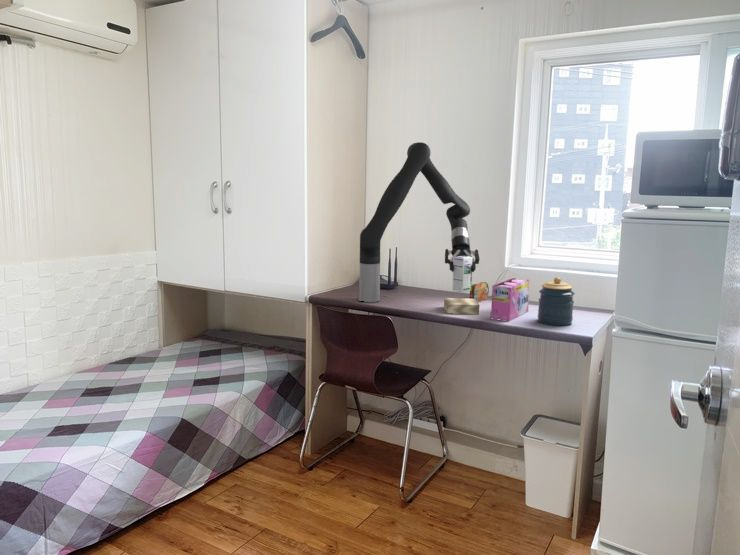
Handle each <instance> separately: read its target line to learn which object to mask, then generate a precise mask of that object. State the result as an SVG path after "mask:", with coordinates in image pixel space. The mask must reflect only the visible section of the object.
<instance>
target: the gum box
mask: <svg viewBox="0 0 740 555" xmlns="http://www.w3.org/2000/svg"><path fill="white" fill-rule="evenodd" d="M491 288H492V289H491V292H492V293H491V311H490V319H491V318H493V319H492V320H496V319H500V320H499V321H502V320H506V321H505V322H511V321H512V319H513V320H514V318H515V319H516V317H517V318H518V317H520V316H523V315H524V314H526V313H527V311H528V312H529V304H530V302H529V300H530V298H529V297H530V296H529V295H530V279H526V280H521V279H517V278H515V277H514V278H513V277H512V278H509V279H506V280H504V281H501V282H498V283H496V284H493V285H492V287H491ZM510 320H511V321H510Z"/></svg>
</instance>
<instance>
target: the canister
mask: <svg viewBox="0 0 740 555" xmlns="http://www.w3.org/2000/svg"><path fill="white" fill-rule="evenodd" d="M572 289H573V286H572V285H570V284H569V283H568V282H563V281H562V279H561V278H560V277H559V276H557V277H555V278H554V279H553V281H546V282H545V283H543V284H541V289H539V291H538V292H539V294H540V295H539V298H538V309H537V311H538V312H537V321H538V322H539V323H541V324H545V325H549V326H558V325H563V326H570V325H572V323H573V320H574V319H573V316H574V315H573V314H574V313H573V310H574V303H575V301H574V300H573V299H574V295H575V292H574V291H573V290H572ZM569 324H570V325H569Z"/></svg>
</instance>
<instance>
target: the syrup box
mask: <svg viewBox="0 0 740 555" xmlns="http://www.w3.org/2000/svg"><path fill="white" fill-rule="evenodd" d="M452 257H453V256H452ZM472 258H473V256H472V257H470V256H458V257H453V267H454V270H453V272H452V287H451V288H452V291H453V292H456V293H461V294H462V293H467V292H470V291H471V286H472V285H473V284H472V283H473V280H472V279H473V272H472Z"/></svg>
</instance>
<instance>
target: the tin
mask: <svg viewBox="0 0 740 555" xmlns="http://www.w3.org/2000/svg"><path fill="white" fill-rule="evenodd" d="M489 288H490V287H489V284H488V283H487V282H486V281H480V282H477V283H473V284H472V286H471V291H469V299H475V300H476V301H477V302H478V303H480V302H484V301H486V300H487V298H488V297H489V292H490V291H489Z"/></svg>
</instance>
